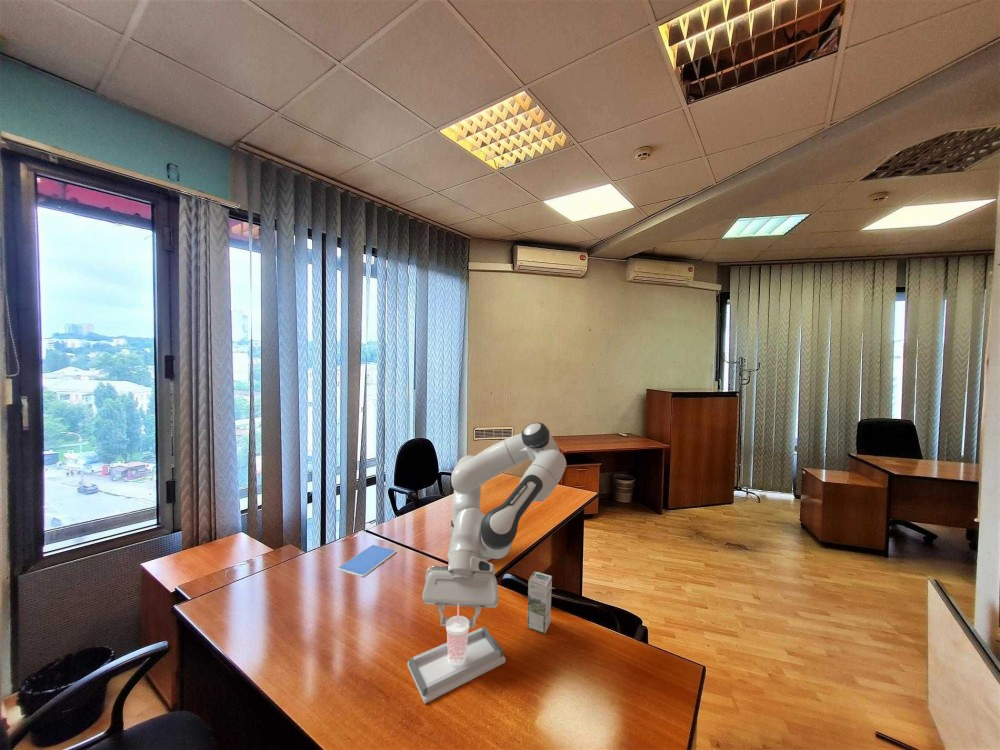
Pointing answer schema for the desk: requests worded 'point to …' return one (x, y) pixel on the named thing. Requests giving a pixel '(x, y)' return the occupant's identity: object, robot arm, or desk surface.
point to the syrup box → (539, 602)
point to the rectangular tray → (442, 676)
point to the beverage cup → (457, 638)
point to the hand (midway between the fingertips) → (457, 626)
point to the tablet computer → (366, 561)
